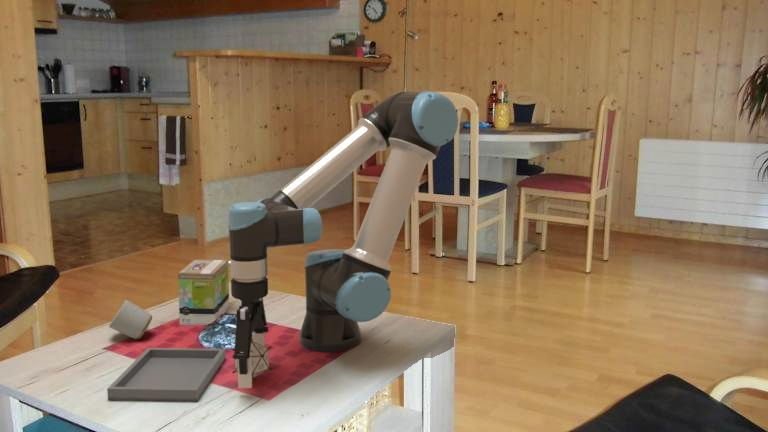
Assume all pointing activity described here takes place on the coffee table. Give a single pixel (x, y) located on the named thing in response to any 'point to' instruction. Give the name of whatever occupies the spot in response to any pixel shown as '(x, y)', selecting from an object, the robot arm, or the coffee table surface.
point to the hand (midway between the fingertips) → (252, 374)
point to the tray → (167, 375)
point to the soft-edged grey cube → (131, 320)
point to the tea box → (203, 291)
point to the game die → (257, 359)
